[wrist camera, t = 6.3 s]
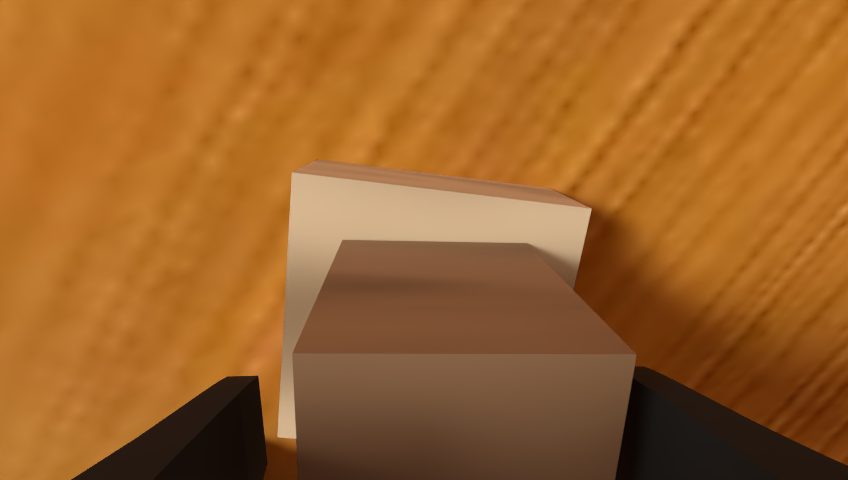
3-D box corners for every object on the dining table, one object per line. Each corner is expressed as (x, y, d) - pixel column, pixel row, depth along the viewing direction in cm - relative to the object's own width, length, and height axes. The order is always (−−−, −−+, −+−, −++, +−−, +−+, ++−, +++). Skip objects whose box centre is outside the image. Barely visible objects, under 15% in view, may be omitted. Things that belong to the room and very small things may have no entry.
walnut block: (511, 402, 14) (592, 609, 8) (344, 402, 14) (304, 618, 8) (526, 242, 13) (636, 354, 7) (342, 240, 12) (291, 352, 6)
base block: (507, 384, 18) (535, 457, 14) (304, 367, 18) (277, 437, 14) (546, 186, 16) (591, 208, 12) (319, 158, 16) (292, 172, 12)
